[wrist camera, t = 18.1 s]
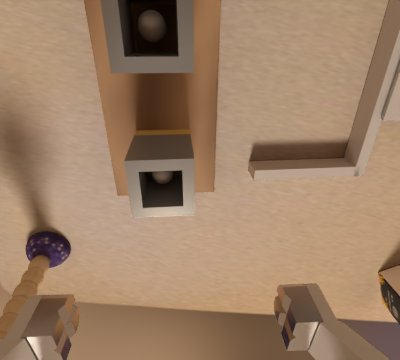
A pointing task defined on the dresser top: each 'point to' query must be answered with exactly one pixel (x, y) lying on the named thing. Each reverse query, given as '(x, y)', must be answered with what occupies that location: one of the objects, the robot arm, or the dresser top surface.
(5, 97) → the dresser top surface
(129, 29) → the sleeve
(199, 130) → the pin board
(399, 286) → the medicine bottle
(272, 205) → the dresser top surface
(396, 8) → the tray
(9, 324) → the toy lamp
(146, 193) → the sleeve
